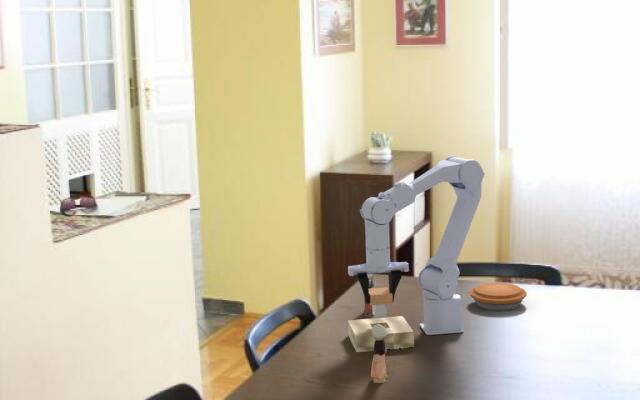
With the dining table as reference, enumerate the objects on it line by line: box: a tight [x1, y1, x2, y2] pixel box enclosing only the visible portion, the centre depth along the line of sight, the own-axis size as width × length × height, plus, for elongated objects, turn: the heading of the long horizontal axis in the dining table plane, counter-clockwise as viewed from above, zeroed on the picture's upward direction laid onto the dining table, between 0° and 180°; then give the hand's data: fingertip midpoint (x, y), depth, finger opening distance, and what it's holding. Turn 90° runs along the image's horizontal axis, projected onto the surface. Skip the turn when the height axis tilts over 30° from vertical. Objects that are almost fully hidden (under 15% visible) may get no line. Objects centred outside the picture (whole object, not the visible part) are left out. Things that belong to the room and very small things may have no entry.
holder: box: [347, 315, 415, 353], centre depth 220 cm, size 14×12×4 cm
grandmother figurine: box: [370, 324, 388, 384], centre depth 195 cm, size 8×4×13 cm, turn 174°
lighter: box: [363, 273, 378, 318], centre depth 242 cm, size 8×3×10 cm, turn 168°
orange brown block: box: [369, 286, 394, 318], centre depth 218 cm, size 5×5×6 cm
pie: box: [468, 282, 528, 312], centre depth 245 cm, size 16×16×5 cm
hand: (379, 301), depth 218 cm, fingers closed on orange brown block, 5 cm apart
